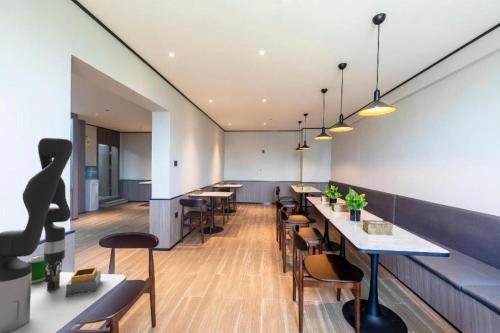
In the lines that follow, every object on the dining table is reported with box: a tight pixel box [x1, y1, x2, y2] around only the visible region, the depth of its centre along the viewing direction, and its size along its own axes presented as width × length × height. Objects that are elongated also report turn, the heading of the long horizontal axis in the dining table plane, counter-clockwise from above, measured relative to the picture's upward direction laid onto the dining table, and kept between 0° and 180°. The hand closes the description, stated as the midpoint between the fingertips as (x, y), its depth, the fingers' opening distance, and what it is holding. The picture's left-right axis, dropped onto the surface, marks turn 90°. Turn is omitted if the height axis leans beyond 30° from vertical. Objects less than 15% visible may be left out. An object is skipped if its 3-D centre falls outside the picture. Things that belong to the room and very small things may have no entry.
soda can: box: [27, 253, 49, 284], centre depth 111 cm, size 8×8×12 cm
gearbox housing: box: [65, 267, 102, 297], centre depth 104 cm, size 11×11×8 cm
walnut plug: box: [46, 270, 61, 292], centre depth 103 cm, size 4×4×8 cm
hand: (53, 286), depth 103 cm, fingers closed on walnut plug, 4 cm apart
